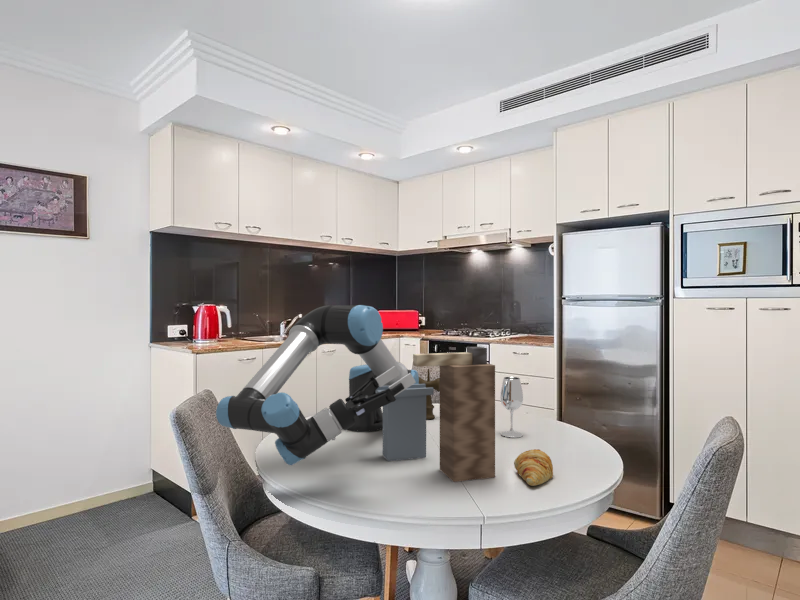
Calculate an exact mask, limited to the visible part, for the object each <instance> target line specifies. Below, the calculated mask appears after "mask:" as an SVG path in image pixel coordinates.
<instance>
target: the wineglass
mask: <svg viewBox="0 0 800 600" xmlns="http://www.w3.org/2000/svg"><path fill="white" fill-rule="evenodd" d="M521 382H522V381H521V378H519V377H517V376H505V377H503V379H502V383H501V384H502V385H501V389H500V403H501V405H502V406H503V408H504V409H506V410H508V411H509V413H510V414H509V415H510V429H509V430H508V431H507V430H506V431H502V432H500V435H501V436H502V437H504V436H505V438H509V437H510V438H512V439H516V438H521V437H523V433H522V432H519V431H515V430H514V427H513V425H514V423H513V422H514V421H513V420H514V412H515V411H517V410H519V409H520V408H521V406H522V404H523V402H524V393H523V389H522V383H521Z"/></svg>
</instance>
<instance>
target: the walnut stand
mask: <svg viewBox="0 0 800 600" xmlns="http://www.w3.org/2000/svg"><path fill="white" fill-rule="evenodd" d="M439 378H440V392H439V470H440V471H441V472H442V473H443V474H444V475H445V476H447V478H449V479H450V480H451V482H454V483H458V482H465V481H474V480H484V479H491V478H495V477H496V365H495V364H492V363H489V362H487V364H479V365H473V364H471V365H447V366H439Z"/></svg>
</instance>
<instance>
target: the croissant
mask: <svg viewBox="0 0 800 600" xmlns="http://www.w3.org/2000/svg"><path fill="white" fill-rule="evenodd" d="M513 461H514V462H513V466H514V469H515V470H516V471H517V472H516V473H517V474H518V475H519V476H520V477H521V478H522V480H523V481H525V482H526V484H527V485H528V486H532V487H533V486H534V487H536V486H538V485H543V484H544V483H546V482H548V481H549V480H551V479H552V478H553V476H554V467H553V462H552V460H551V458H550V456H549V455H548V454H547V453H546V452H545V451H542V450H541V449H529V450H525V451H523V452H521V453H520V454H519V455H518V456H517V457H516V458H515V460H513Z"/></svg>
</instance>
